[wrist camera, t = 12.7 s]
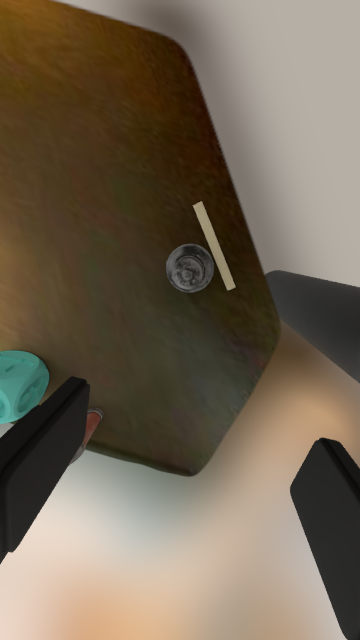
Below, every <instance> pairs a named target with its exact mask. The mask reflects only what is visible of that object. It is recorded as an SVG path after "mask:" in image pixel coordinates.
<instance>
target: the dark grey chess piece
mask: <svg viewBox="0 0 360 640" xmlns="http://www.w3.org/2000/svg"><path fill="white" fill-rule="evenodd" d="M166 270H167V276H168V278H169V281H170V282H171V283H172V285H173V286H174V287H176V288H177V289H178V290H181V291H183V292H188V293H190V292H197V291H199V290H201V289H203V288H204V287H206V286H207V284H208V283H209V282H210V280H211V278H212V276H213V271H214V264H213V260H212V257H211V256H210V254H209V253H208V251H206V250H205V249H204V248H203V247H201V246H199V245H196V244H184V245H182V246H180V247H178V248H176V249H175V250H174V251H173V252H172V253H171V255H170V256H169V258H168V261H167V266H166Z"/></svg>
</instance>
